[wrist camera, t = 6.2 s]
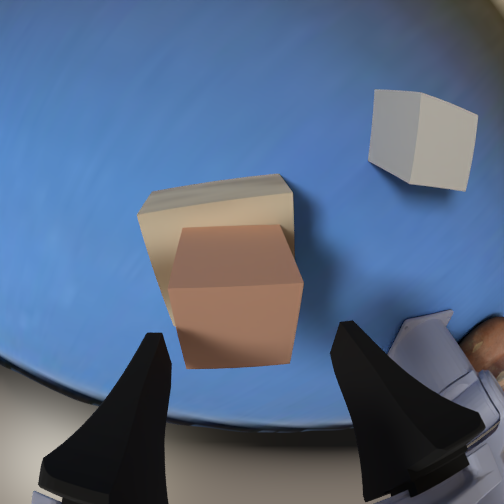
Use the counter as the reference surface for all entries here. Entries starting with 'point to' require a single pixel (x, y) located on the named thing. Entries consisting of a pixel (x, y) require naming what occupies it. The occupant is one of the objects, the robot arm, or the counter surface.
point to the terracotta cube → (235, 296)
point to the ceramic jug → (487, 348)
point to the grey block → (422, 139)
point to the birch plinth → (211, 215)
